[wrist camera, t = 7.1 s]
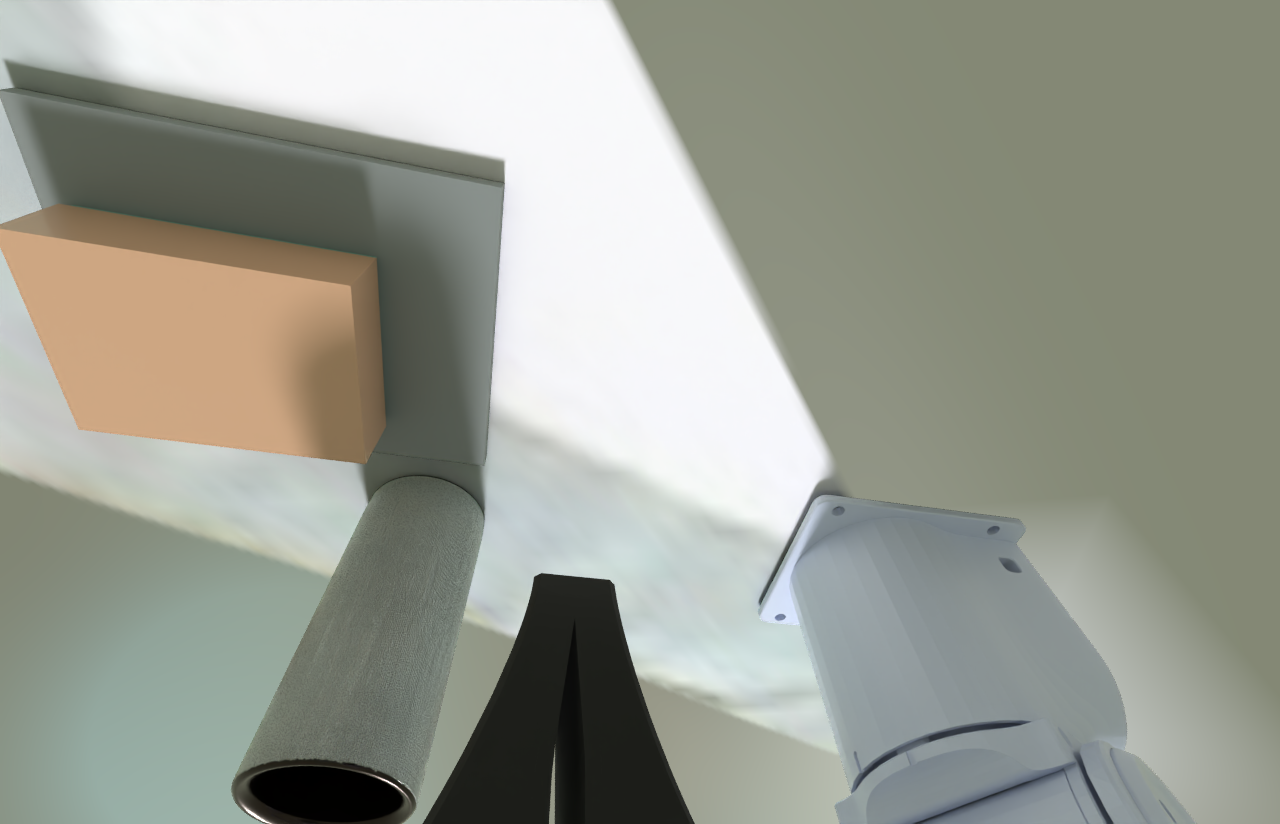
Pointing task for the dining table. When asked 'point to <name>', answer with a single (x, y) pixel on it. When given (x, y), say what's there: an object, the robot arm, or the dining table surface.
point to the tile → (204, 332)
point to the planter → (369, 667)
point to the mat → (309, 237)
